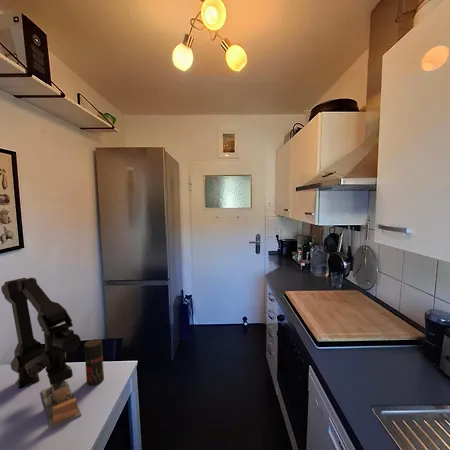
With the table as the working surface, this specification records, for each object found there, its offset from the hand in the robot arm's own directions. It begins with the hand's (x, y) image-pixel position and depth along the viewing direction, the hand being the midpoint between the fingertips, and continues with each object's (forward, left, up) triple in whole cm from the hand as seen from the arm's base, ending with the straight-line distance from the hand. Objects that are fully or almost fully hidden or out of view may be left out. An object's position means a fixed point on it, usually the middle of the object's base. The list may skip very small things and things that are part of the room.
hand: (58, 388), depth 93 cm
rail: (+2, 0, -4) cm, 5 cm away
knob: (+4, 0, -4) cm, 6 cm away
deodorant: (-2, +12, -4) cm, 13 cm away
